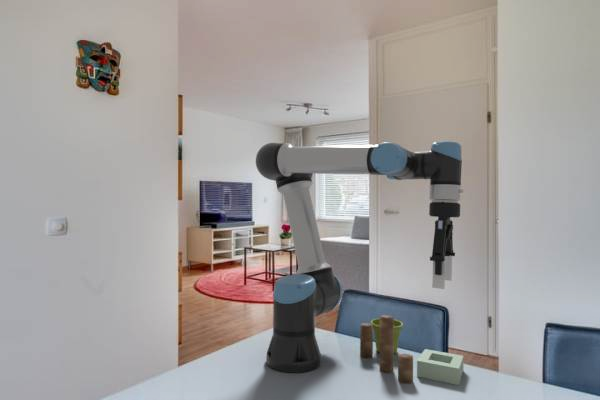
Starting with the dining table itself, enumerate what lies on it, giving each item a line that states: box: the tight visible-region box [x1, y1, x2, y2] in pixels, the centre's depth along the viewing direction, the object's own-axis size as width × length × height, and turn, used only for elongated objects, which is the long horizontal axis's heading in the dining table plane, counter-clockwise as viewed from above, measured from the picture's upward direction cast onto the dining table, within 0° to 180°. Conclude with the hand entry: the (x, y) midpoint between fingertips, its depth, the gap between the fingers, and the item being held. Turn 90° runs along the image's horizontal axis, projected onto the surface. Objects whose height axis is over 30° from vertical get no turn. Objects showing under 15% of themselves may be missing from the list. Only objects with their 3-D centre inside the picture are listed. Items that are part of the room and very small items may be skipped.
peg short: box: [397, 353, 414, 385], centre depth 97 cm, size 4×4×6 cm
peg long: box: [379, 314, 395, 374], centre depth 103 cm, size 4×4×14 cm
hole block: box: [416, 348, 464, 386], centre depth 101 cm, size 10×10×4 cm
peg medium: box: [359, 322, 374, 359], centre depth 113 cm, size 4×4×9 cm
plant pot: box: [370, 318, 404, 354], centre depth 117 cm, size 9×9×9 cm
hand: (442, 283), depth 100 cm, fingers open, 13 cm apart
